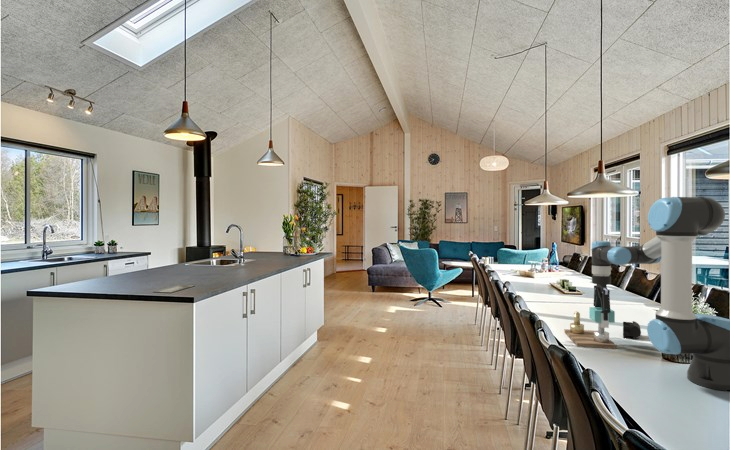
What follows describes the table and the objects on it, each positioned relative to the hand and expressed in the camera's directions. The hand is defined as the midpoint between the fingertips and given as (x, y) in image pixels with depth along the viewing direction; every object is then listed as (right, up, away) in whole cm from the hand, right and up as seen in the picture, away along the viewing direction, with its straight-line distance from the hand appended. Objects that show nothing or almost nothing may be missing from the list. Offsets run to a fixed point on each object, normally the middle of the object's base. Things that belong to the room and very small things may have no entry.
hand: (601, 325), depth 189 cm
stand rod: (0, -7, 0) cm, 7 cm away
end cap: (+21, -9, +12) cm, 26 cm away
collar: (0, +2, 0) cm, 2 cm away
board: (-2, -9, +8) cm, 12 cm away
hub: (-4, -7, +15) cm, 17 cm away
